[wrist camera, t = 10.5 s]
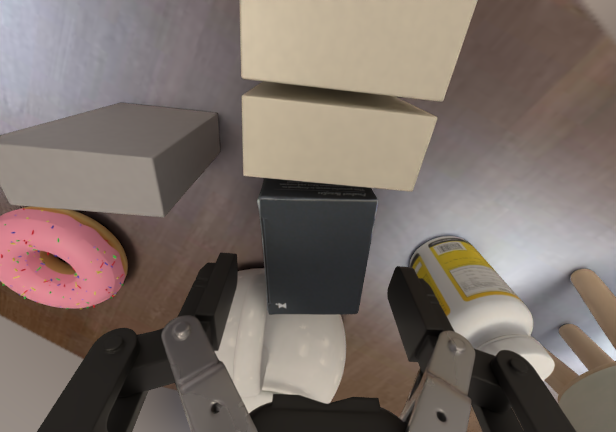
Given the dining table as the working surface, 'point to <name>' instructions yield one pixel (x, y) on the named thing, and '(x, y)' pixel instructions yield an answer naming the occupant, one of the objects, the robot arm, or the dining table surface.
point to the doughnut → (68, 246)
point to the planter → (589, 362)
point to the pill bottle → (479, 301)
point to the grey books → (109, 159)
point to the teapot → (279, 348)
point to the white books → (345, 86)
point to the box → (315, 245)
